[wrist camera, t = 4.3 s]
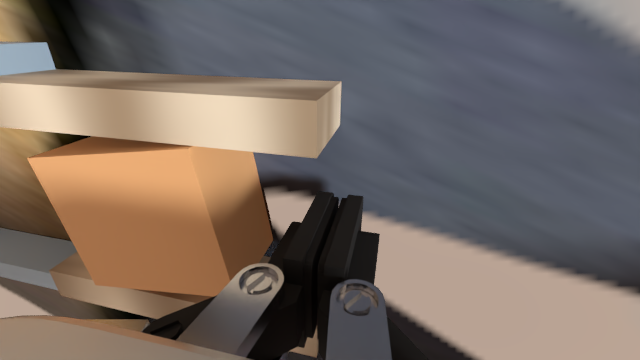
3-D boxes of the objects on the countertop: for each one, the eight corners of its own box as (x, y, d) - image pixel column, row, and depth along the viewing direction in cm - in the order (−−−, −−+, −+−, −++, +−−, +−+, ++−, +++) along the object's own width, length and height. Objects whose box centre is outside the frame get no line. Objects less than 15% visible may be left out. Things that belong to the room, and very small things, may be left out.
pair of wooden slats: (341, 81, 11) (316, 100, 8) (334, 293, 16) (316, 357, 13) (55, 69, 14) (-43, 80, 11) (118, 251, 18) (60, 295, 15)
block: (247, 117, 13) (187, 148, 9) (274, 237, 15) (235, 298, 12) (116, 128, 15) (26, 158, 11) (158, 233, 17) (95, 284, 14)
